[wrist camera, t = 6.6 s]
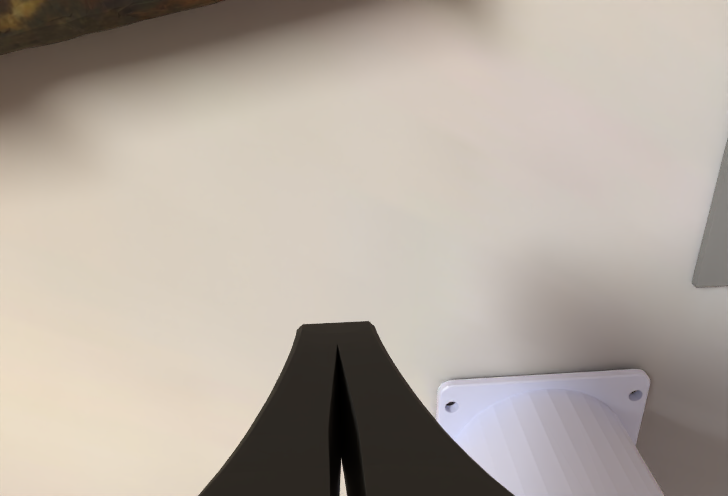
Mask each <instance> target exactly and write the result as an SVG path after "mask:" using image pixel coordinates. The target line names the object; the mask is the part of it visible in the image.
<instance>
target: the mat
mask: <svg viewBox="0 0 728 496" xmlns="http://www.w3.org/2000/svg"><path fill="white" fill-rule="evenodd" d="M692 284H693V285H694V286H695V287H696V288H698V287H717V286H728V140H727V144H726V148H725V152H724V156H723V160H722V164H721V168H720V172H719V176H718V180H717V184H716V188H715V192H714V196H713V200H712V204H711V208H710V212H709V216H708V220H707V224H706V228H705V232H704V236H703V240H702V244H701V248H700V252H699V256H698V260H697V264H696V268H695V272H694V276H693V280H692Z"/></svg>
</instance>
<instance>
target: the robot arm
mask: <svg viewBox="0 0 728 496" xmlns="http://www.w3.org/2000/svg"><path fill="white" fill-rule="evenodd" d="M649 387H650V378H649V377H648V375H647V374H646V373H645V371H643V370H641V369H625V370H608V371H592V372H575V373H558V374H542V375H525V376H508V377H492V378H475V379H458V380H449V381H445V382H444V383H442V384H441V385H440V386H439V388H438V391H437V412H436V420H435V418H434V417H433V416H432V415H431V414H430V412H429V411H428V410H427V409H426V407H425V406H424V405H423V404H422V402H421V401H420V400H419V398H418V397H417V396H416V395H415V393H414V392H413V390H412V389H411V388H410V386H409V385H408V383H407V382H406V380H405V379H404V378H403V376H402V375H401V373H400V372H399V370H398V369H397V367H396V366H395V364H394V363H393V361H392V359H391V358H390V356H389V354H388V353H387V351H386V349H385V347H384V346H383V344H382V342H381V340H380V338H379V336H378V334H377V331H376V329H375V326H374V325H372V324H371V323H370V322H369V321H363V322H343V323H323V324H303V325H302V326H301V327H300V328H299V329H297V332H296V337H295V340H294V343H293V346H292V349H291V351H290V354H289V356H288V359H287V361H286V363H285V365H284V368H283V370H282V372H281V374H280V376H279V378H278V380H277V382H276V384H275V386H274V388H273V390H272V392H271V394H270V395H269V397H268V399H267V401H266V403H265V404H264V406H263V407H262V409H261V411H260V412H259V414H258V416H257V417H256V419H255V421H254V422H253V424H252V426H251V427H250V429H249V430H248V432H247V433H246V435H245V436H244V438H243V439H242V441H241V442H240V444H239V445H238V446H237V448H236V449H235V451H234V452H233V453H232V455H231V456H230V457H229V459H228V460H227V461H226V463H225V464H224V465H223V467H222V468H221V469H220V470H219V472H218V473H217V474H216V475H215V476H214V478H213V479H212V480H211V481H210V482H209V484H208V485H207V486H206V487H205V488H204V489H203V491H202V492H201V493H200V494H199V495H198V496H339V494H340V474H341V459H342V465H343V472H344V478H345V484H346V491H347V496H665V495H664V494H663V492H662V490H661V489H660V487H659V485H658V484H657V482H656V480H655V479H654V477H653V475H652V473H651V472H650V470H649V468H648V467H647V465H646V463H645V462H644V460H643V458H642V457H641V455H640V453H639V451H638V450H637V448H636V443H637V438H638V434H639V430H640V426H641V421H642V417H643V413H644V409H645V404H646V400H647V396H648V391H649ZM636 390H637V391H636ZM633 391H636V392H635V393H633V394H630V393H631V392H633ZM449 402H456V403H455V404H453V405H450V406H449V405H446V404H447V403H449Z"/></svg>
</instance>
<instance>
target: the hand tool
mask: <svg viewBox="0 0 728 496" xmlns="http://www.w3.org/2000/svg"><path fill="white" fill-rule="evenodd" d="M220 1H224V0H0V55H3V54H7V53H11V52H14V51H18V50H22V49H26V48H32V47H38V46H43V45H48V44H53V43H57V42H61V41H66V40H70V39H73V38H76V37H79V36H82V35H85V34H90V33H95V32H100V31H105V30H110V29H114V28H117V27H121V26H125V25H128V24H132V23H135V22H139V21H142V20H146V19H150V18H155V17H159V16H163V15H167V14H171V13H176V12H180V11H184V10H189V9H193V8H198V7H202V6H207V5H210V4H214V3H217V2H220Z"/></svg>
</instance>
